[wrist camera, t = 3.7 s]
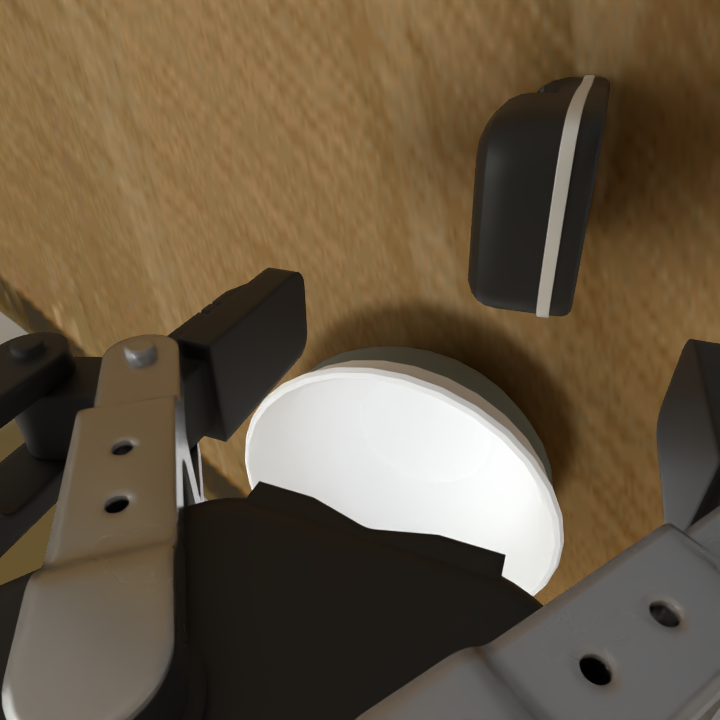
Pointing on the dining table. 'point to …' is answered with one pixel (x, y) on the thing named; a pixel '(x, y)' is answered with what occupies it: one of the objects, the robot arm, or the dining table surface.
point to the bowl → (414, 454)
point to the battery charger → (536, 196)
